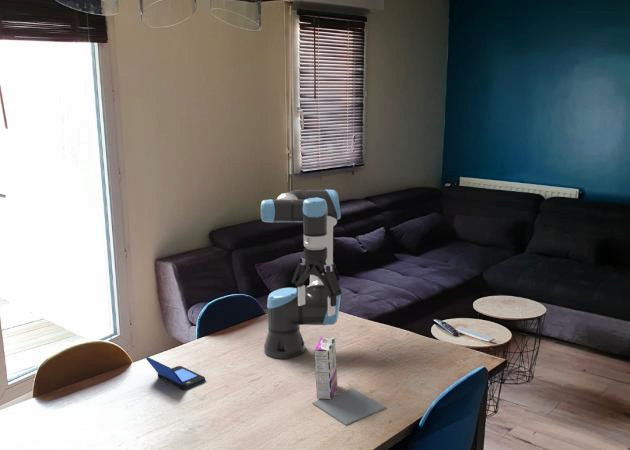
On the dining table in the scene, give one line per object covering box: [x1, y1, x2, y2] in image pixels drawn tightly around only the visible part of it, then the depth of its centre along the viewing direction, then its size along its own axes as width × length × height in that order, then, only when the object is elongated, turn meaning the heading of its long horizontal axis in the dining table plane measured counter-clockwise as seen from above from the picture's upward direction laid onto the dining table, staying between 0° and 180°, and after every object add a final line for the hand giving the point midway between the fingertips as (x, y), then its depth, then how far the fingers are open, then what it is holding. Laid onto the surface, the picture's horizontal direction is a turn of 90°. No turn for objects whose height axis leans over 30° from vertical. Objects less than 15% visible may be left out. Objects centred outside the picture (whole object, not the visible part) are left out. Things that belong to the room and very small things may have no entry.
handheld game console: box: [145, 356, 206, 391], centre depth 204 cm, size 16×13×9 cm
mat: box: [312, 387, 387, 426], centre depth 186 cm, size 16×16×1 cm
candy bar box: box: [313, 336, 338, 400], centre depth 193 cm, size 11×5×16 cm, turn 168°
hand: (316, 309), depth 199 cm, fingers open, 13 cm apart
